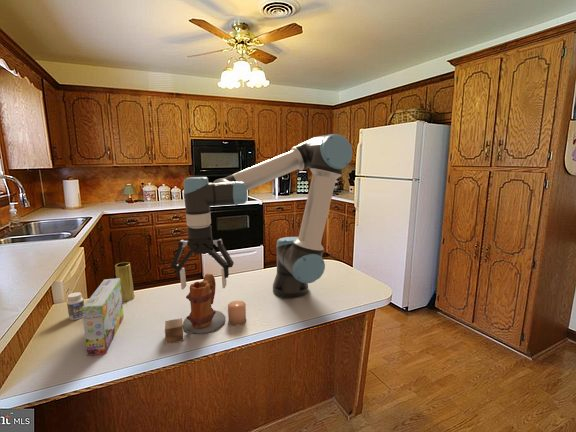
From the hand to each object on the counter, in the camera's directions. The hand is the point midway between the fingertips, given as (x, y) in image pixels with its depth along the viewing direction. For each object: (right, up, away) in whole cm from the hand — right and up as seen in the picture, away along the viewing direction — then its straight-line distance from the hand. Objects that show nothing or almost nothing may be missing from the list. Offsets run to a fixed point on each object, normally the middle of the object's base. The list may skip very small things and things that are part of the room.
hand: (204, 287), depth 101 cm
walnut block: (-7, -14, -7) cm, 18 cm away
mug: (0, -12, +2) cm, 12 cm away
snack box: (-29, -14, -5) cm, 33 cm away
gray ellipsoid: (0, -13, +2) cm, 13 cm away
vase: (-37, -9, +20) cm, 43 cm away
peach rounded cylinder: (+10, -12, +3) cm, 17 cm away
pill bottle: (-47, -12, +6) cm, 48 cm away
